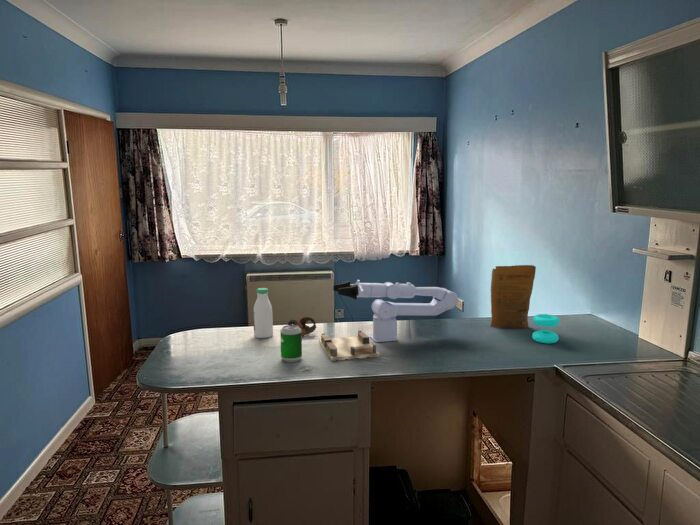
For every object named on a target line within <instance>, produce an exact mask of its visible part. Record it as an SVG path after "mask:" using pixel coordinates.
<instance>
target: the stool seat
mask: <svg viewBox="0 0 700 525" xmlns="http://www.w3.org/2000/svg"><path fill="white" fill-rule="evenodd" d="M321 335H326V333H321ZM329 338H330V339H331V340H332V342H326V347H325V346H324V344H323V343H322V341H321V338H320V339H318V342H319V344H320V346H321V345H322V346H321V347H322V349H323V350H324V352H325V354H326V356H328V358H329V359H330V361H331V362H335V361H336V360H338V361H346V360H345V359H348V360H355V359H354V358H359V359H367V357H370V358H378V357H380V354H381V353H380V352H379V351H378V350H377V345H376V344H371V343H370V336H368V335H367V334H366V333H365V332H364V331H362V330H358V332H357V335H354V336H346V337H345V336H343V337H329Z"/></svg>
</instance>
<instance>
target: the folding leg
mask: <svg viewBox="0 0 700 525" xmlns="http://www.w3.org/2000/svg"><path fill="white" fill-rule="evenodd" d="M330 338H331V337H329V335H328V334H325V335H322V334H321V336H320V339H321V341H322V343H323V344H324V346H325V347H326V342H332V340H331V339H330Z"/></svg>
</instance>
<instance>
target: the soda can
mask: <svg viewBox="0 0 700 525" xmlns="http://www.w3.org/2000/svg"><path fill="white" fill-rule="evenodd" d="M302 337H303V336H302V330H301V328H299V326H297V325H293V324H292V325H288V324H287V325H283V326H282V328H280V358H281V359H282V360H283V362H285V361H286V363H296V362H298V361H300V360H301V358H302V357H303V341H302V339H303V338H302Z"/></svg>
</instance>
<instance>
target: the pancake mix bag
mask: <svg viewBox="0 0 700 525" xmlns="http://www.w3.org/2000/svg"><path fill="white" fill-rule="evenodd" d="M536 270H537V266H536V265H533V264H520V265H519V264H518V265H496V266H495V267H494V268H492V271H491V281H490V306H491V307H490V313H491V322H490V327H493V328H496V329H521V330H522V329H528V328H529V327H530V326H529V321H528V318H529V317H528V316H529V310H530V301H531V297H532V292H533V287H534V282H535V278H536Z"/></svg>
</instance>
